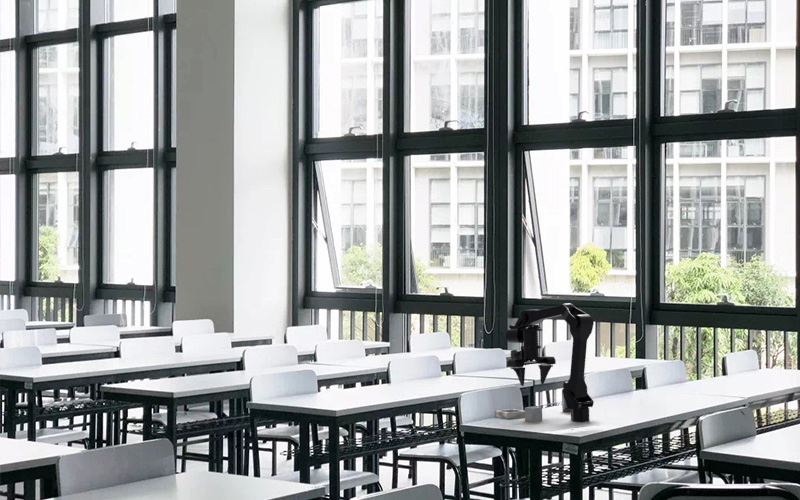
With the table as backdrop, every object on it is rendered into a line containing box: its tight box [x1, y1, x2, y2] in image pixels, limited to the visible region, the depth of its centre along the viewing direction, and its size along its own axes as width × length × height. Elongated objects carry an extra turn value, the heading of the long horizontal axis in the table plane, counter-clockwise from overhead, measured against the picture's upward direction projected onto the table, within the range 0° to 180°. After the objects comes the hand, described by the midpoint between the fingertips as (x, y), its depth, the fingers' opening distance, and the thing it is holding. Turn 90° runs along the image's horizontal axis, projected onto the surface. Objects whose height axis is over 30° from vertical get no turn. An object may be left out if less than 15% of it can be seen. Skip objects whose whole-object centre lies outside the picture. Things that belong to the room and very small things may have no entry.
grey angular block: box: [524, 405, 543, 424], centre depth 381 cm, size 4×4×5 cm
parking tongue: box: [520, 420, 547, 425], centre depth 381 cm, size 7×7×2 cm
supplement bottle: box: [561, 388, 571, 413], centre depth 416 cm, size 6×6×11 cm
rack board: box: [492, 408, 525, 420], centre depth 393 cm, size 18×12×4 cm, turn 30°
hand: (532, 384), depth 398 cm, fingers open, 9 cm apart
